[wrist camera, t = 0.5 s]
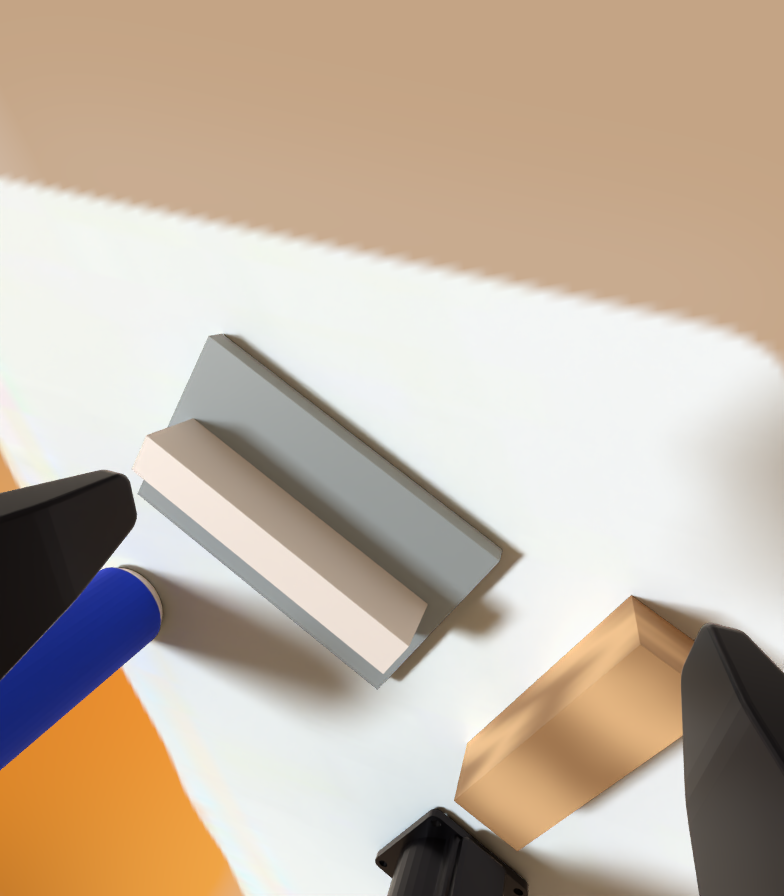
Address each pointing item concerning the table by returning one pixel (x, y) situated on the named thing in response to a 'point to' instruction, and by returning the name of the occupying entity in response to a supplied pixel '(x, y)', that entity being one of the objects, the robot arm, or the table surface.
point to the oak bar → (578, 726)
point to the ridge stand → (309, 513)
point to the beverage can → (76, 655)
